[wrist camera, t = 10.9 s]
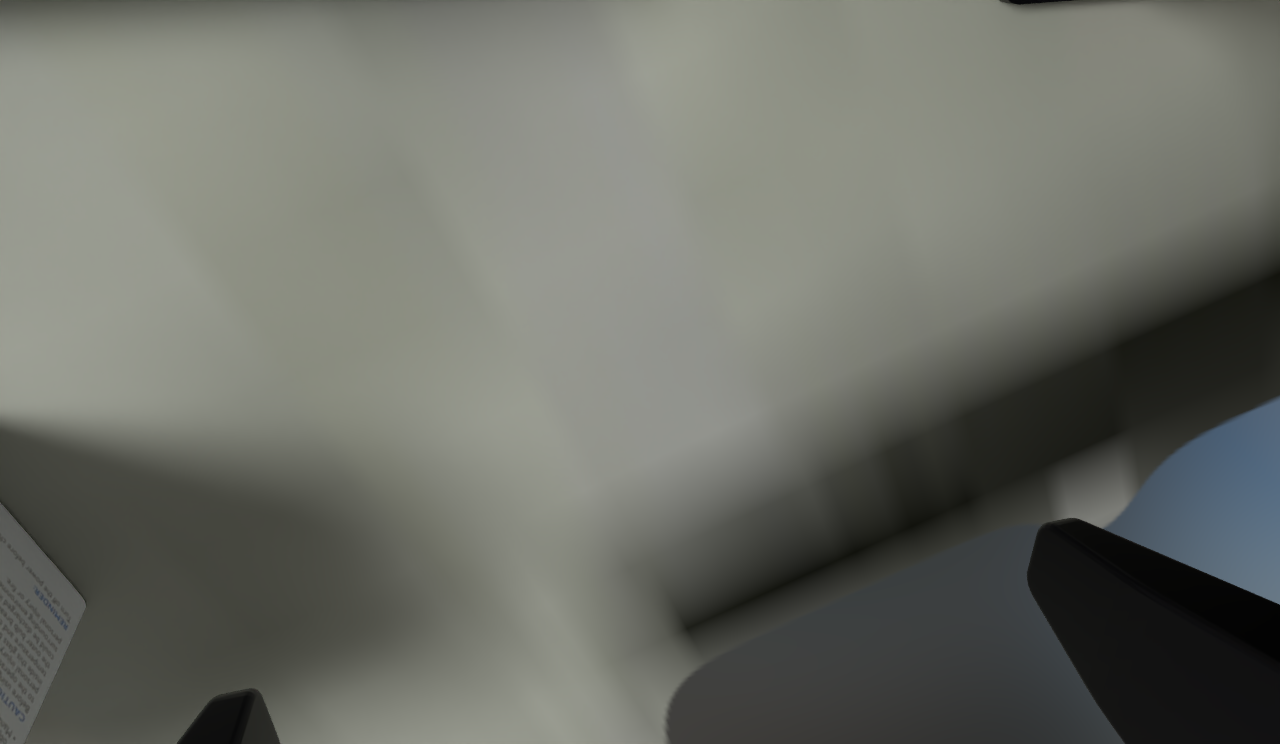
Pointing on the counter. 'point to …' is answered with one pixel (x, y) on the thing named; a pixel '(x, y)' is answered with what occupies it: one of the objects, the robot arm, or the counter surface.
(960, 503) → the counter surface
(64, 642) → the light bulb box
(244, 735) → the robot arm
